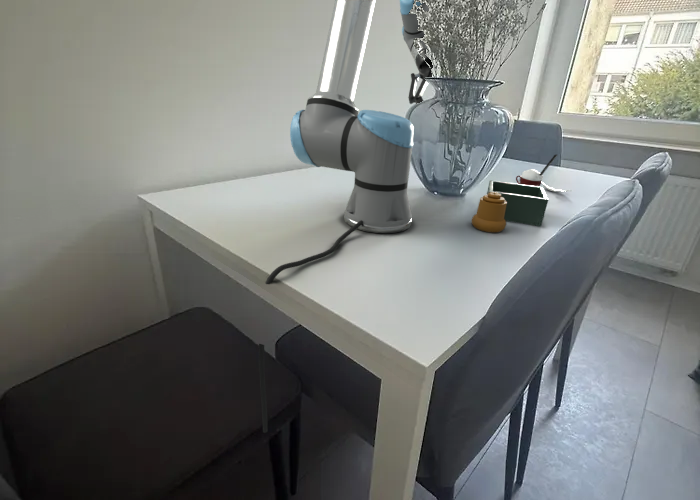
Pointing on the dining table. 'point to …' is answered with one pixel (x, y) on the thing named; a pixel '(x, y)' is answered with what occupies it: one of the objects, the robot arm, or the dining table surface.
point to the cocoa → (533, 176)
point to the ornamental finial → (490, 213)
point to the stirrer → (553, 189)
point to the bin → (521, 202)
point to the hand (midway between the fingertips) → (449, 106)
